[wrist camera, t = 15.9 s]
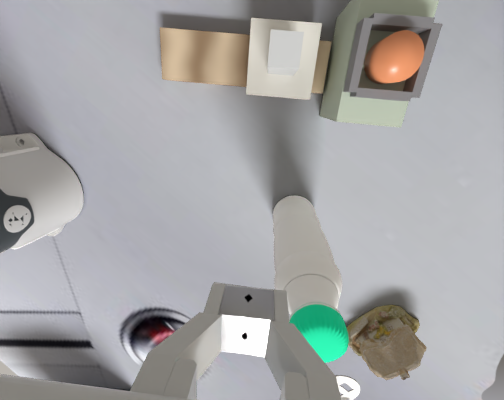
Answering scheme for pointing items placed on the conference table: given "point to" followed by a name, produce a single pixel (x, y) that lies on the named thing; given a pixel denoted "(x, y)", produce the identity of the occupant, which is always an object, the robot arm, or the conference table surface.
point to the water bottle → (308, 277)
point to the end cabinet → (354, 53)
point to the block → (218, 58)
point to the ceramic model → (387, 341)
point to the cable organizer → (352, 384)
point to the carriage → (282, 58)
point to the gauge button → (394, 57)
